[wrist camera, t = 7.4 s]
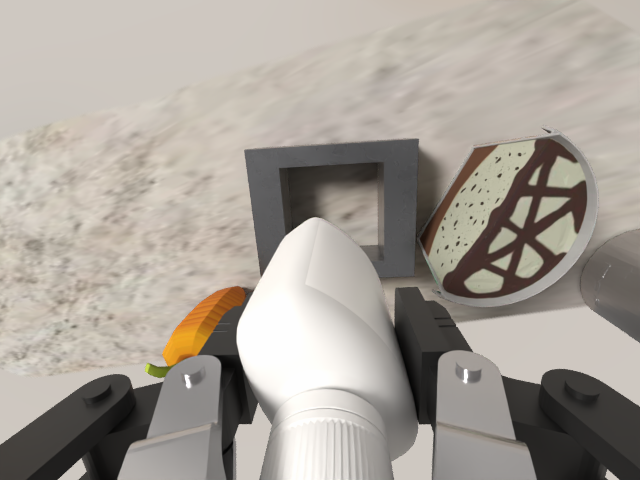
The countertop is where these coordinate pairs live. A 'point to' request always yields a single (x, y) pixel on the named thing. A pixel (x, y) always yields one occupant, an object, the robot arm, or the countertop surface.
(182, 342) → the carrot
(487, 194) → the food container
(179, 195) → the countertop surface
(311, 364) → the eye dropper bottle
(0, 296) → the countertop surface
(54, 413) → the robot arm
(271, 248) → the grey square frame
